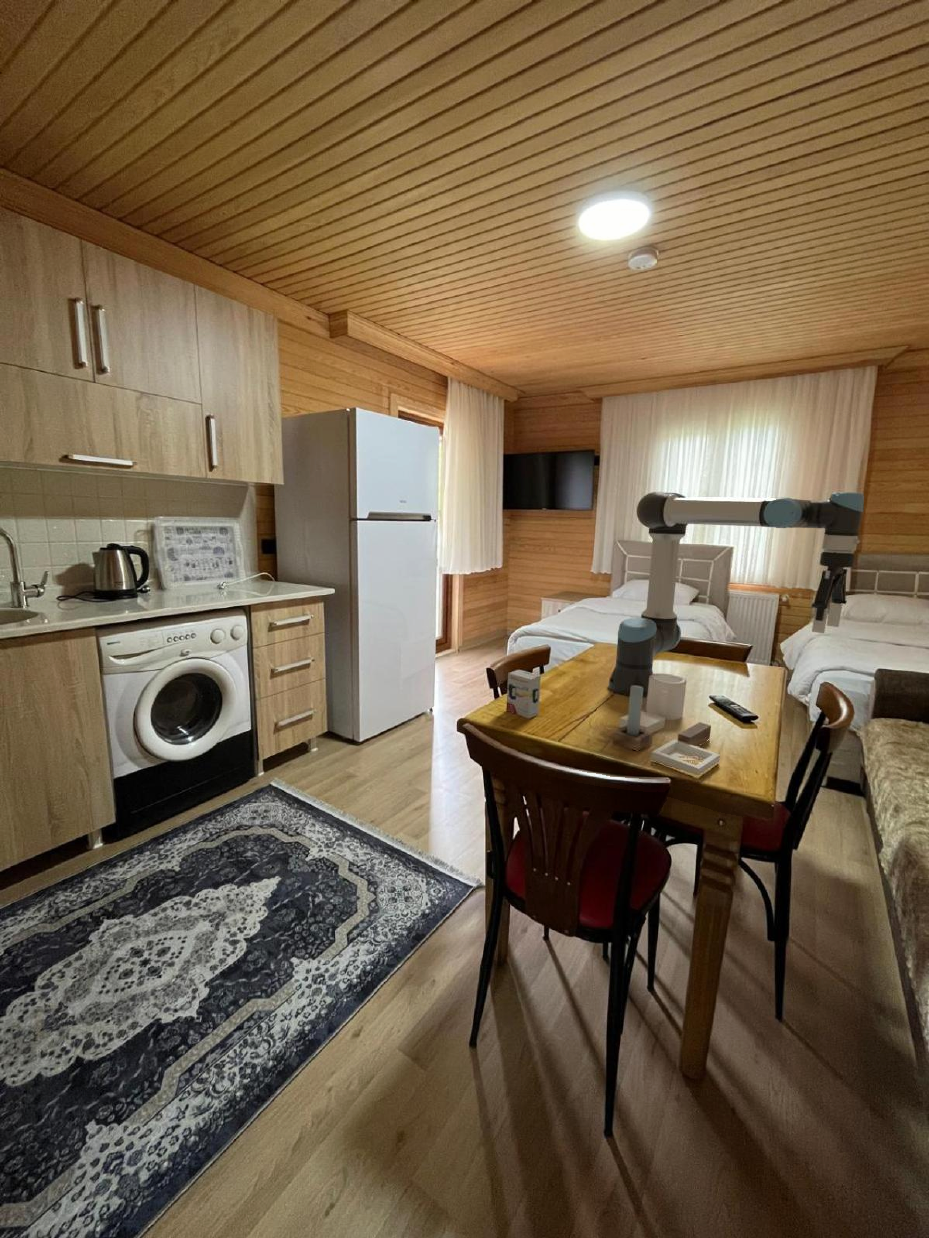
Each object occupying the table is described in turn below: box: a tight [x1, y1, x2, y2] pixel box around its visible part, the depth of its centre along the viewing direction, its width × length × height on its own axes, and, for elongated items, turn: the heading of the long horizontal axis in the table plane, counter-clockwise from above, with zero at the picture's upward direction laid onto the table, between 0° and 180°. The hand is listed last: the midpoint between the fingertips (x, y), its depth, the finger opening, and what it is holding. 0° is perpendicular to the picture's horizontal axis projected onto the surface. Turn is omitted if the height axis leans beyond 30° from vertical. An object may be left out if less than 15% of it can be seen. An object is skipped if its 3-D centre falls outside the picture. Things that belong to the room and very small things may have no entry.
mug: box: [645, 673, 687, 721], centre depth 156 cm, size 14×10×11 cm
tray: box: [650, 738, 721, 775], centre depth 127 cm, size 11×11×2 cm
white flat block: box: [618, 710, 666, 734], centre depth 148 cm, size 8×10×3 cm
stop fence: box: [677, 722, 712, 747], centre depth 137 cm, size 3×12×4 cm, turn 132°
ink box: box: [505, 669, 541, 719], centre depth 155 cm, size 9×5×12 cm, turn 47°
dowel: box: [627, 685, 644, 737], centre depth 135 cm, size 3×3×15 cm
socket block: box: [611, 725, 653, 752], centre depth 137 cm, size 7×7×3 cm
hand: (825, 629), depth 147 cm, fingers open, 13 cm apart
